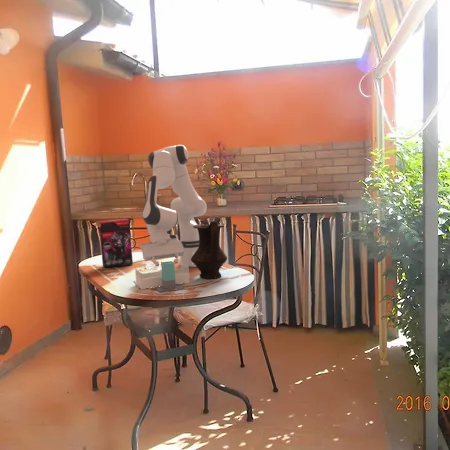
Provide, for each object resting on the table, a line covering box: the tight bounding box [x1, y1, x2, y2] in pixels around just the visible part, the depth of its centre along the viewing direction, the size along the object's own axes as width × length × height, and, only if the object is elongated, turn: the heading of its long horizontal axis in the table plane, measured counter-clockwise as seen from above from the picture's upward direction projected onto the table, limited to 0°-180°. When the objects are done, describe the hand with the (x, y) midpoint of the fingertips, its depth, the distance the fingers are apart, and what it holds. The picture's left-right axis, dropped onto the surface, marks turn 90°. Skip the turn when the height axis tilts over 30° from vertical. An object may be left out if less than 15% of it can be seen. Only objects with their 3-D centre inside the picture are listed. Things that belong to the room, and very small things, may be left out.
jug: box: [191, 220, 228, 280], centre depth 255 cm, size 21×18×30 cm
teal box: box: [160, 260, 176, 289], centre depth 238 cm, size 5×5×12 cm
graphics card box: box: [98, 218, 134, 269], centre depth 295 cm, size 17×7×27 cm, turn 116°
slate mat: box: [153, 284, 185, 293], centre depth 238 cm, size 12×9×1 cm
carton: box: [133, 262, 190, 290], centre depth 251 cm, size 24×18×8 cm
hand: (167, 264), depth 240 cm, fingers open, 8 cm apart
